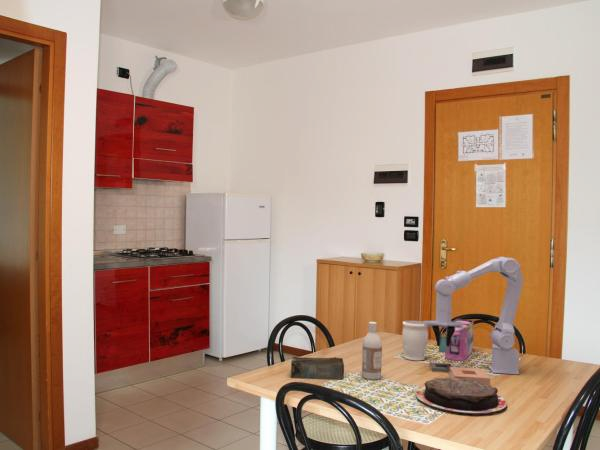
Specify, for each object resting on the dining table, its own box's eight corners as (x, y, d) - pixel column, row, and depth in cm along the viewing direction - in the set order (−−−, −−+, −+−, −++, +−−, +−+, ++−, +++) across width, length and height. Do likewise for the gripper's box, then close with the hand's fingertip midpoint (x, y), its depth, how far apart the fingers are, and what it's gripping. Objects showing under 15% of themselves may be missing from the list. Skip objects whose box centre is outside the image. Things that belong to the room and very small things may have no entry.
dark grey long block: (291, 372, 194) (292, 354, 194) (343, 374, 193) (343, 356, 193) (290, 378, 186) (290, 360, 186) (344, 380, 185) (344, 362, 185)
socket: (482, 376, 194) (482, 368, 194) (489, 386, 182) (490, 378, 182) (449, 374, 195) (449, 366, 195) (454, 384, 183) (454, 376, 183)
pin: (446, 350, 203) (446, 333, 203) (447, 352, 200) (447, 334, 200) (438, 350, 204) (438, 332, 203) (439, 352, 201) (439, 334, 200)
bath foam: (370, 381, 184) (371, 325, 184) (357, 376, 190) (359, 321, 190) (385, 378, 188) (386, 323, 188) (372, 373, 194) (373, 320, 194)
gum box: (463, 362, 213) (464, 329, 213) (443, 359, 217) (444, 327, 217) (473, 350, 234) (474, 320, 234) (455, 348, 238) (456, 318, 238)
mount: (450, 366, 206) (450, 363, 206) (453, 372, 198) (453, 369, 198) (429, 365, 207) (429, 362, 207) (431, 371, 199) (432, 368, 199)
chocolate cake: (437, 382, 186) (438, 364, 186) (518, 400, 169) (519, 380, 169) (399, 402, 165) (400, 381, 165) (488, 425, 147) (488, 402, 147)
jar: (425, 355, 222) (426, 320, 222) (429, 362, 212) (430, 325, 212) (400, 354, 223) (401, 319, 223) (402, 361, 213) (403, 324, 213)
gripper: (425, 311, 199) (424, 347, 199) (464, 313, 197) (464, 349, 197) (423, 308, 206) (423, 342, 206) (461, 310, 204) (460, 344, 204)
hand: (442, 345), depth 202 cm, fingers closed on pin, 3 cm apart
